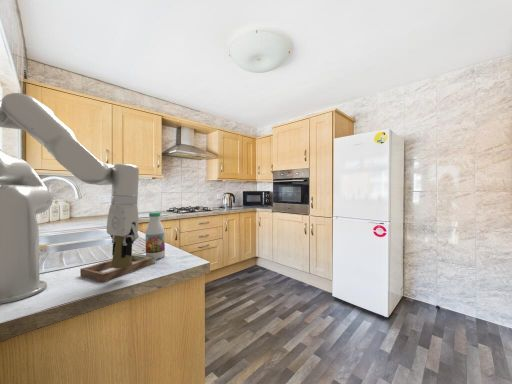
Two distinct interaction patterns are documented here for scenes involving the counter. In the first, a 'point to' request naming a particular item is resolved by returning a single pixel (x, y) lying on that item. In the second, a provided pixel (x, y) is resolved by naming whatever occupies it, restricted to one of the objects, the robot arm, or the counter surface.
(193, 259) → the counter surface
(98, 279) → the keyhole board
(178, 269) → the counter surface
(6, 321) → the counter surface
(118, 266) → the cork
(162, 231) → the milk bottle
